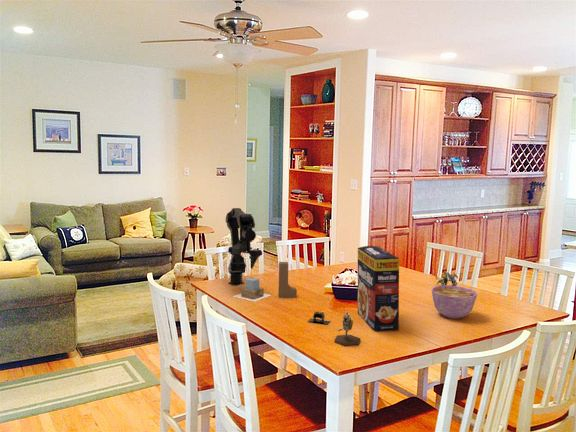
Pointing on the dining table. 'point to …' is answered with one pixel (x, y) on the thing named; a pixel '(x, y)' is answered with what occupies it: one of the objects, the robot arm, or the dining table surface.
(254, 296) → the walnut base
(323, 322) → the black block
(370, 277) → the cereal box
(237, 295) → the felt mat
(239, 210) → the robot arm
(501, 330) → the dining table surface
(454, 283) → the plant sprig
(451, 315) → the bowl of food
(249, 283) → the gray cube
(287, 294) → the wooden block
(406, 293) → the dining table surface
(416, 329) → the dining table surface
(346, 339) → the robot figurine
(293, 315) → the dining table surface
